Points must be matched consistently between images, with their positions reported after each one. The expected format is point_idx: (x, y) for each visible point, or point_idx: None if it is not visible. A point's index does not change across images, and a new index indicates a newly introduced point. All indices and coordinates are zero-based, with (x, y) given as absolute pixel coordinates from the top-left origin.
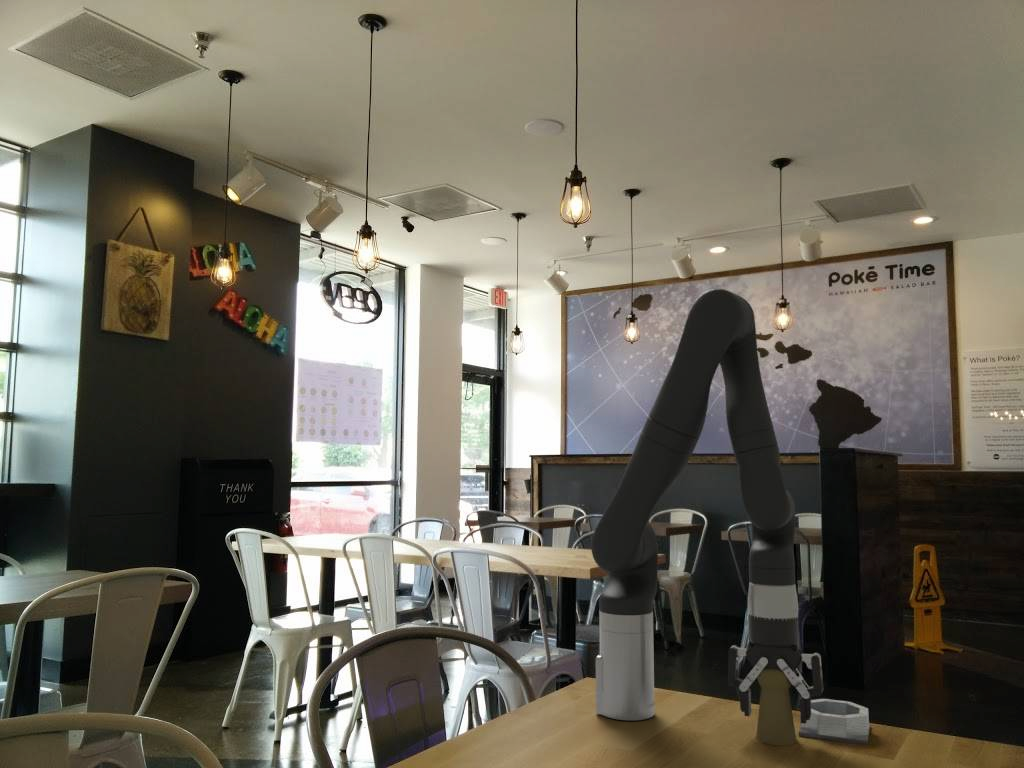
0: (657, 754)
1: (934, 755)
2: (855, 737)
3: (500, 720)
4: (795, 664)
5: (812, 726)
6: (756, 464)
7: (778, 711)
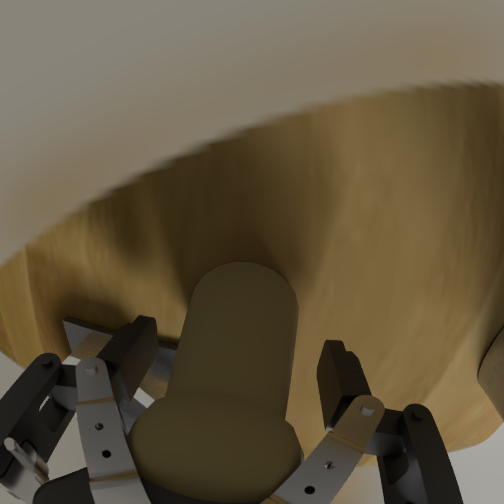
0: (497, 112)
1: (3, 286)
2: (82, 337)
3: None
4: (66, 482)
5: (155, 367)
6: None
7: (214, 323)
